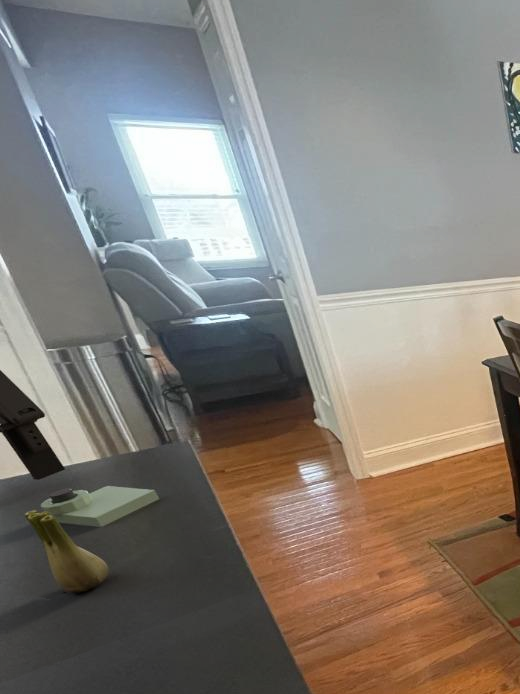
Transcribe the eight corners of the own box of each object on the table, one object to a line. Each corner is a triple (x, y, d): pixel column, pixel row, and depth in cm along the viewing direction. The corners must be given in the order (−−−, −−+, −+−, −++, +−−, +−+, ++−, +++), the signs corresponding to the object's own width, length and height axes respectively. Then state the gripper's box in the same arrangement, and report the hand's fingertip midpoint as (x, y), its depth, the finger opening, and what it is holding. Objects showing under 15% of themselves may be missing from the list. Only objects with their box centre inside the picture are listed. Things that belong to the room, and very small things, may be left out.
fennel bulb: (69, 583, 84) (16, 511, 78) (116, 568, 87) (68, 497, 81) (63, 603, 80) (7, 528, 74) (113, 586, 83) (62, 513, 77)
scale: (44, 523, 99) (31, 505, 97) (109, 494, 107) (98, 477, 106) (97, 529, 97) (85, 511, 95) (159, 499, 105) (149, 482, 103)
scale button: (50, 503, 99) (44, 495, 98) (69, 495, 101) (63, 487, 100) (62, 504, 98) (56, 496, 97) (80, 496, 100) (75, 488, 100)
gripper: (-241, 308, 64) (-101, 479, 74) (-81, 308, 59) (46, 492, 69) (-138, 293, 71) (-21, 452, 81) (15, 292, 66) (119, 462, 75)
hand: (10, 471), depth 75 cm, fingers open, 13 cm apart
